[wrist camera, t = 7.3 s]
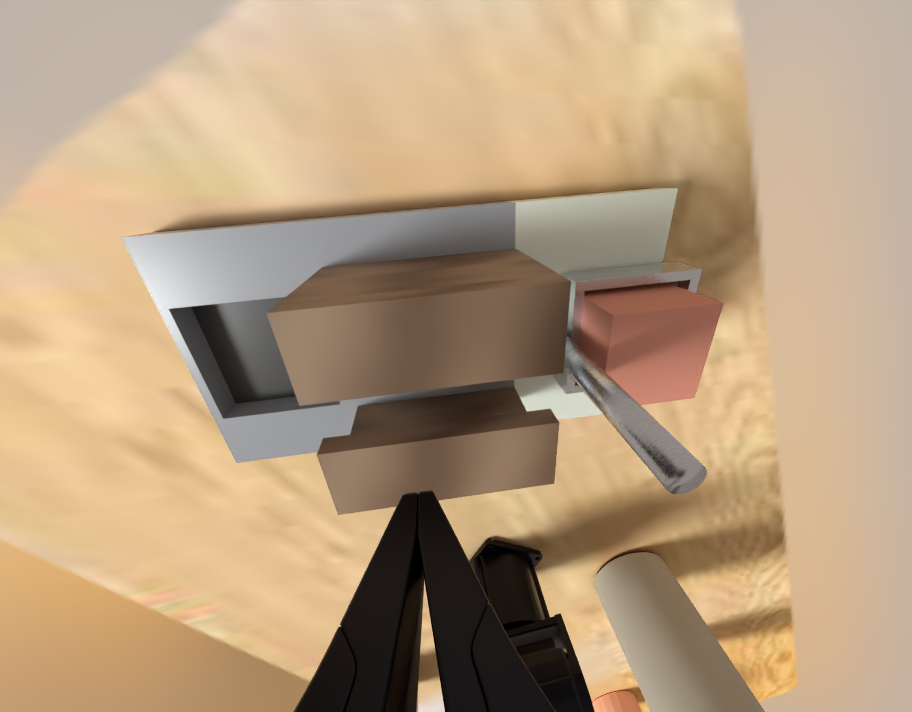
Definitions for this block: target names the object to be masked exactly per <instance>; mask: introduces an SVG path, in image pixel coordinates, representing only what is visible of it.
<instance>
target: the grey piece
mask: <svg viewBox="0 0 912 712" xmlns="http://www.w3.org/2000/svg"><path fill="white" fill-rule="evenodd" d="M701 273H702V269H701V268H698V267H694V266H690V265H687V264H683V263H679V262H676V261H673V262H663V263H653V264H644V265H634V266H625V267H615V268H605V269H596V270H586V271H576V272H567V273H560V275H562V276H563V277H565V278H567V279H569V280H570V281H571V289H570V301H569V313H568V324H567V336H566V348H565V360H564V372H563V373H561V374H553V378H554V379H555V380H556V382H557V383H558V384H559V386H560V387H561V388H562V390H563V391H564V393H565V394H571V393H579V392H585V393H586V394H587V395H588V396H589V398H590V399H591V400H592V401H593V402H594V404H595V405H596V406H597V407H598V408H599V410H600V411H601V412H602V413H603V414H604V416H605V417H606V418H607V419H608V420H609V421H610V423H611V424H612V425H613V426H614V427H615V429H616V430H617V431H618V432H619V433H620V435H621V436H622V437H623V438H624V439H625V441H626V442H627V443H628V444H629V445H630V446H631V448H632V449H633V450H634V451H635V452H636V454H637V455H638V456H639V457H640V458H641V460H642V461H643V462H644V463H645V464H646V465H647V467H648V468H649V469H650V470H651V471H652V473H653V474H654V475H655V476H656V477H657V479H658V480H659V481H660V482H661V483H662V485H663V486H664V487H665V488H666V489H667V490H668V491H669V492H670V493H673V494H683V493H687V492H689V491H691V490H693V489H695V488H696V487H698V486H699V485H700V484H701V483H702V482H703V481H704V479H705V477H706V474H707V470H706V468H705V467H704V466H703V465H702V464H701V463H700V462H699V461H698V460H697V459H696V458H695V457H694V456H693V455H692V454H691V453H690V452H689V451H688V450H687V449H686V448H684V447H683V446H682V445H681V444H680V443H679V442H678V441H677V440H676V439H675V438H674V437H673V436H672V435H671V434H670V433H669V432H668V431H667V430H666V429H665V428H664V427H662V426H661V425H660V424H659V423H658V422H657V421H656V420H655V419H654V418H653V417H652V416H651V415H650V414H649V413H648V412H647V411H646V410H645V409H644V408H643V407H642V406H641V405H639V404H638V403H637V402H636V401H635V400H634V399H633V398H632V397H631V396H630V395H629V394H628V393H627V392H626V391H625V390H624V389H623V388H622V387H621V386H620V385H619V384H617V383H616V382H615V381H614V380H613V379H612V378H611V377H610V376H609V375H608V374H607V373H606V372H605V371H604V370H603V369H602V368H601V367H600V366H599V365H598V364H597V363H596V362H594V361H593V360H592V359H591V358H590V357H589V356H588V355H587V354H586V353H585V352H584V351H583V350H582V349H581V348H580V347H579V341H580V332H581V322H582V313H583V303H584V294H585V291H591V290H600V289H609V288H618V287H628V286H637V285H646V284H655V283H665V282H667V283H669V284H672V285H675V286H678V287H680V288H683V289H686V290H689V291H691V292H694V293H696V292H697V288H698V284H699V280H700V277H701ZM575 381H576V382H577V383H578V384H577V383H576V382H575ZM579 386H580V387H581V388H582V389H583V390H582V389H581V388H580V387H579Z"/></svg>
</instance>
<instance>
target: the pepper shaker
mask: <svg viewBox="0 0 912 712" xmlns="http://www.w3.org/2000/svg"><path fill="white" fill-rule="evenodd" d="M592 704H593V707H594V711H595V712H642V711H641V709H640V706H639V704H638V702H637V700H636V697H635V695H634V694H633V693H632V692H630V691H617V692H612V693H608V694H606V695H603V696H601V697H599V698H597V699H596V700H595V701H593V702H592Z"/></svg>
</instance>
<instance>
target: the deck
mask: <svg viewBox="0 0 912 712" xmlns="http://www.w3.org/2000/svg"><path fill="white" fill-rule="evenodd" d="M677 191H678V188H650V189H639V190H628V191H616V192H605V193H594V194H582V195H571V196H560V197H548V198H537V199H526V200H515V201H503V202H492V203H481V204H469V205H458V206H447V207H435V208H424V209H413V210H402V211H390V212H379V213H368V214H356V215H345V216H334V217H322V218H311V219H300V220H288V221H277V222H266V223H255V224H243V225H232V226H221V227H209V228H198V229H187V230H175V231H164V232H153V233H146V234H140V235H134V236H128V237H121V238H122V240H123V242H124V244H125V246H126V248H127V250H128V252H129V254H130V256H131V258H132V260H133V262H134V264H135V265H136V267H137V269H138V271H139V273H140V275H141V277H142V279H143V281H144V283H145V285H146V287H147V289H148V291H149V293H150V295H151V297H152V299H153V301H154V303H155V305H156V306H157V308H158V310H159V312H160V314H161V316H162V318H163V320H164V322H165V324H166V326H167V328H168V330H169V332H170V334H171V336H172V338H173V340H174V342H175V344H176V346H177V348H178V349H179V351H180V353H181V355H182V357H183V359H184V361H185V363H186V365H187V367H188V369H189V371H190V373H191V375H192V377H193V379H194V381H195V383H196V385H197V387H198V389H199V391H200V392H201V394H202V396H203V398H204V400H205V402H206V404H207V406H208V408H209V410H210V412H211V414H212V416H213V418H214V420H215V422H216V424H217V426H218V428H219V430H220V432H221V434H222V435H223V437H224V439H225V441H226V443H227V445H228V447H229V449H230V451H231V453H232V455H233V457H234V459H235V461H236V463H239V462H246V461H254V460H261V459H269V458H277V457H284V456H292V455H299V454H307V453H314V452H318V450H319V448H320V445H321V442H322V440H323V438H328V437H336V436H344V435H350V433H351V429H352V426H353V422H354V418H355V414H356V411H357V407H358V406H364V405H372V404H380V403H388V402H396V401H404V400H412V399H420V398H428V397H436V396H444V395H452V394H460V393H468V392H476V391H484V390H492V389H500V388H508V387H515V389H516V391H517V393H518V395H519V397H520V399H521V401H522V403H523V405H524V407H525V409H526V411H527V412H528V411H535V410H543V409H551V410H552V412H553V413H554V415H555V417H556V418H557V420H562V419H570V418H577V417H585V416H592V415H600V414H603V413H602V412H601V411H600V410H599V409H598V408H597V407H596V406H595V404H594V403H593V402H592V401H591V400H590V398H589V397H588V396H587V395H586V394H585V392H579V393H571V394H565V393H564V391H563V390H562V388H561V387H560V386H559V384H558V383H557V382H556V380H555V379H554V378H553V375H545V376H537V377H529V378H520V379H512V380H504V381H496V382H488V383H480V384H472V385H464V386H456V387H448V388H440V389H432V390H424V391H415V392H407V393H399V394H391V395H383V396H375V397H367V398H359V399H351V400H343V401H335V402H327V403H319V404H310V405H302V406H299V403H298V401H297V398H296V395H295V392H294V389H293V387H292V384H291V381H290V378H289V375H288V373H287V370H286V367H285V364H284V361H283V358H282V356H281V353H280V350H279V347H278V344H277V342H276V339H275V336H274V333H273V330H272V328H271V325H270V322H269V319H268V316H267V314H266V313H267V312H268V311H270V310H271V309H272V308H273V307H274V306H276V305H277V304H278V303H279V302H281V301H282V300H283V299H284V298H285V297H287V296H288V295H289V294H290V293H291V292H293V291H294V290H295V289H296V288H297V287H299V286H300V285H301V284H302V283H304V282H305V281H306V280H307V279H308V278H310V277H311V276H312V275H313V274H314V273H316V272H317V271H318V270H319V269H320V268H322V267H331V266H341V265H352V264H362V263H372V262H382V261H392V260H403V259H413V258H423V257H433V256H443V255H454V254H464V253H474V252H484V251H495V250H505V249H517V250H519V251H520V252H522V253H524V254H526V255H527V256H529V257H531V258H532V259H534V260H536V261H538V262H539V263H541V264H543V265H545V266H546V267H548V268H550V269H551V270H553V271H555V272H557V273H558V274H560V273H567V272H576V271H586V270H596V269H605V268H615V267H625V266H634V265H644V264H653V263H663V259H664V254H665V249H666V244H667V240H668V235H669V230H670V225H671V220H672V215H673V211H674V206H675V201H676V196H677Z"/></svg>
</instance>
